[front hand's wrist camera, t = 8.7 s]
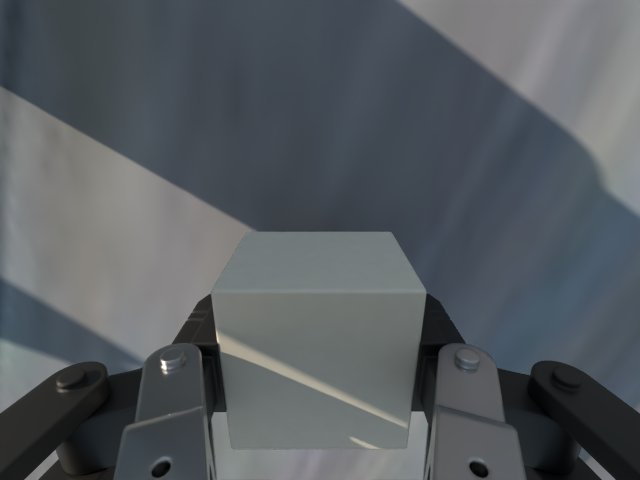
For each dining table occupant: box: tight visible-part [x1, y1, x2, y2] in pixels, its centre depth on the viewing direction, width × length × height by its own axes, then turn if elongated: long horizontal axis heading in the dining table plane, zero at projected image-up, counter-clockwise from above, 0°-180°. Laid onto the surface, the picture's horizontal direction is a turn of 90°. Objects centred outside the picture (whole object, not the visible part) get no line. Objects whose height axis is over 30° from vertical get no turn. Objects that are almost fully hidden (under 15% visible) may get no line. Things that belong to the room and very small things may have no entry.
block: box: [211, 232, 427, 449], centre depth 11 cm, size 5×5×4 cm
